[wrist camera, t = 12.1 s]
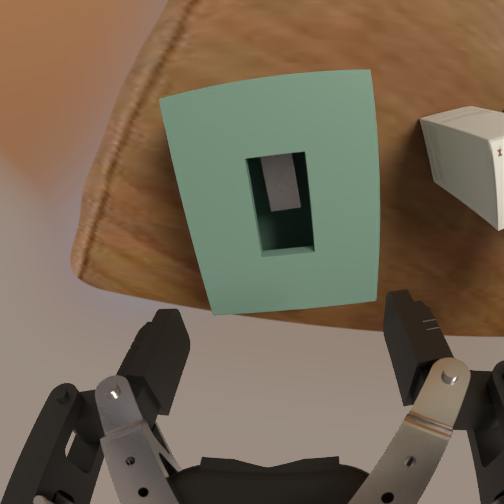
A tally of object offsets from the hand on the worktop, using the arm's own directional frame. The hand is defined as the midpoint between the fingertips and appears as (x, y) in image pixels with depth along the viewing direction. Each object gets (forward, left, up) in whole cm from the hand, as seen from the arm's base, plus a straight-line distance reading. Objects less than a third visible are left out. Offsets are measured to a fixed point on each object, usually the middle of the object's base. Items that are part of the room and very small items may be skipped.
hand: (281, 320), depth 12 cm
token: (0, -1, -21) cm, 21 cm away
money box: (0, 0, -22) cm, 22 cm away
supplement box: (-19, -2, -22) cm, 29 cm away
